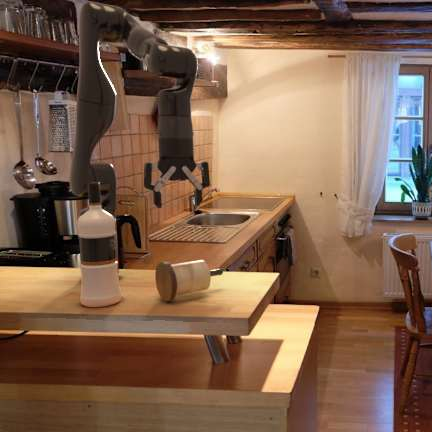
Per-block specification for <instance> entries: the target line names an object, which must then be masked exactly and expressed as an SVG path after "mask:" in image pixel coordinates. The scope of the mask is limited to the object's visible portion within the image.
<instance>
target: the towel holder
mask: <svg viewBox="0 0 432 432" xmlns="http://www.w3.org/2000/svg"><path fill="white" fill-rule="evenodd" d="M223 274H224V270H223V269H222V268H217V269H211V270H210V267H209V265H208V264H207V262H206V261H205V260H204V259H199V260H192V261H186V262H179V263H173V264H171V263H170V262H168V261H159V263H157V265H156V267H155V275H154V278H155V279H154V280H155V285H156V290H157V292H158V295H159V297H160V299H161V300H162V301H163V302H164V303H165V302H171V301H174V300H175V298H176V297H178V296H182V295H187V294H191V293H196V292H197V293H198V292H203V291H207V290H208V289H209V288H210V286H211V282H212V281H211V280H212V279H211V278H212V277H217V276H221V275H223Z"/></svg>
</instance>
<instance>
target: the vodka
mask: <svg viewBox="0 0 432 432" xmlns="http://www.w3.org/2000/svg"><path fill="white" fill-rule="evenodd" d="M88 192H89V197H88V206H89V208H90V209H89V210H88V211H87V212H86V213H84V214H83V215H82V216H80V217H79V216H78V219H77V221H76V226H77V232H78V233H77V237H78V243H79V245H78V246H79V255H80V256H79V258H80V263H79V268H80V275H81V277H80V278H81V279H80V281H81V283H80V284H81V285H80V294H79V302H80V304H81V305H83V306H84V307H87V308H105V307H110V306H114V305H115V304H117V303H119V302H120V301H121V300H122V297H123V294H122V292H123V291H122V290H121V285H120V278H119V279H118V270H117V264H118V263H119V261H118V262H117V253H116V236H115V233H116V231H115V219H114V217H113V216H112V215H111V214H109V213H107V212H106V211H104V210H102V207H101V196H100V183H98V182H91V183H88Z"/></svg>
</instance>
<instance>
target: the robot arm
mask: <svg viewBox="0 0 432 432" xmlns="http://www.w3.org/2000/svg"><path fill="white" fill-rule="evenodd" d="M100 42H101V43H110V44H124V45H125V46H126V49H127V50H128V52H129V53H130V54H131V55H132V56H133V57H135V59H137V60H139V61H140V62H142V63H143V64H144V65H145V66H146V67H147V70H148V71H149V72H150V73H151V74H152V75H154V76H156V77H159V78H163V79H164V78H165V79H175V83H174V85H173V87H171V88H163V89H161V90H160V91H158V94H157V109H158V112H157V113H158V120H157V139H158V140H157V141H158V161H157V162H149V161H146V162H144V164H143V188H145V189H146V190H150V191H152V197H153V204H154V206H156V208H157V209H162V207H163V206H162V191H161V189H162V188H163V186H165V185H166V183H167V182H168V181H170V182H176V181H182V182H183V181H184V182H185V181H187V180H188V182H189V183H190V184H191V185H192V186H193V187H194V189H193V196H194V197H193V200H194V202H193V203H194V205H195V206H196V207H199V206H201V204H202V203H203V189H205V188H208V187H210V186H211V180H210V179H211V178H210V167H209V162H208V161H205V160H202V161H197V162H196V161H195V151H194V135H195V133H194V126H193V125H194V124H193V120H192V119H193V118H192V95H193V91H194V87H195V83H196V78H197V74H198V70H199V62H198V58H197V56H196V53H195V52H194V51H193V50H192V49H190V48H189V47H183V46H175V45H170V44H169V43H168V42H167V41H166V40H165V39H164V38H162V37H161V36H159V35H157V34H156V33H154V32H152V31H150V30H148V29H147V28H145V27H144V26H143V25H141V24H140V23H139V22H138V21H137V20H136V19H135V18H134V17H133V16H132V15H131V14H130V13H129V12H128V11H127V10H126V9H124V8H122V7H120V6H117V5H114V4H113V5H112V4H107V3H102V2H95V1H84V2H83V4H82V5H81V7H80V10H79V15H78V45H79V46H78V52H79V53H78V54H79V57H78V58H79V59H78V60H79V61H78V65H79V66H78V82H77V92H76V103H75V104H76V105H75V131H74V143H73V147H72V148H73V149H72V154H71V160H70V168H69V188H70V191H71V193H72V194H73V195H74V196H75V197H79V198H87V197H88V198H89V192H88V183H91V182H98V183H100V196H101V207H102V210H104V211H106V212H107V213H109V214H111V215H112V216H113V217H114V219H115V231H116V233H115V236H116V253H117V262H118V264H117V270H118V279H119V280H120V268H119V267H120V266H119V250H118V249H119V248H118V233H117V231H118V230H117V209H118V204H117V202H118V197H117V193H118V192H117V191H118V189H117V188H118V185H117V183H118V182H117V173H116V170H115V167H114V166H113V164H112V163H109V162H104V161H103V162H101V161H100V162H91V161H92V156H93V153H94V151H95V149H96V147H97V145H98V144H99V142H100V141H101V140H102V139H103V137H104V136H105V134H106V133H107V132H108V131H109V129H110V128H111V127H112V125H113V123H114V121H115V118H116V107H117V92H116V89H115V87H114V85H113V84H112V82H111V80H110V78H109V77H108V74H107V73H106V71H105V69H104V68H103V65H102V62H101V59H100V51H99V47H100V45H99V43H100ZM156 169H158V170H159V171H160V173H161V174H160V175H159V176H158V178H157V180H156V181H155V183H154V184H153V183H152V181H153V180H152V177H153V176H152V174H153V173H154V172H155V171H156ZM196 169H198V171H200V173H201V182H199V180H198V179H197V177H196V176H195V175H194V174H193V173H194V171H195V170H196ZM89 206H90V205H88V206H87V207H84V208H82V209H81V210H79V212H78V218H79V217H80V216H82V215H83V214H84V213H86V212H87V211H88V210H89V209H90V208H89Z"/></svg>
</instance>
